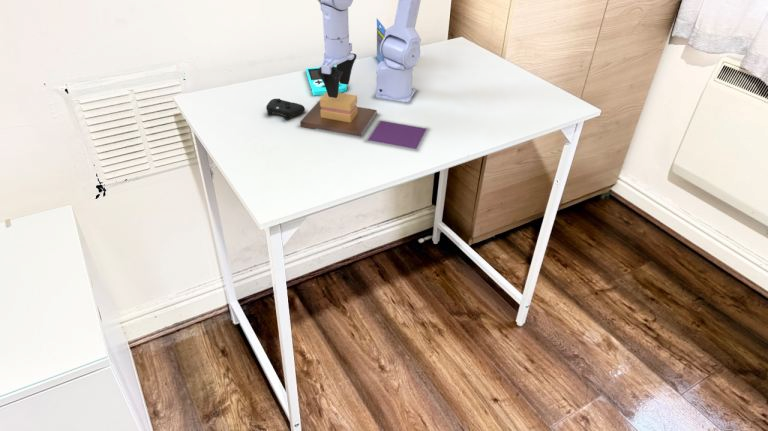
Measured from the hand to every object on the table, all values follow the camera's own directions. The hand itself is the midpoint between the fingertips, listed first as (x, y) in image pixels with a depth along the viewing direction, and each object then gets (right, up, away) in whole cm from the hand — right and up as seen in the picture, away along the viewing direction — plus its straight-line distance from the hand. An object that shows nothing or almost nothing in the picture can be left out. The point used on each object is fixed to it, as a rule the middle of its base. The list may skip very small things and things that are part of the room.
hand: (338, 90), depth 128 cm
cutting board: (0, -7, +5) cm, 8 cm away
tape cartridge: (+12, +17, +34) cm, 40 cm away
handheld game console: (-6, +8, +23) cm, 25 cm away
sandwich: (0, -5, +4) cm, 7 cm away
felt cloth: (+14, -11, 0) cm, 18 cm away
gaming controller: (-15, -4, +8) cm, 17 cm away
